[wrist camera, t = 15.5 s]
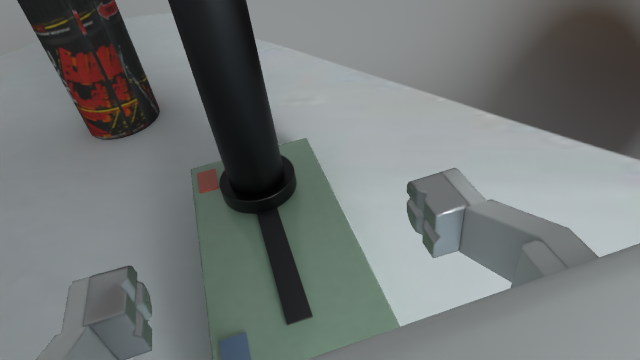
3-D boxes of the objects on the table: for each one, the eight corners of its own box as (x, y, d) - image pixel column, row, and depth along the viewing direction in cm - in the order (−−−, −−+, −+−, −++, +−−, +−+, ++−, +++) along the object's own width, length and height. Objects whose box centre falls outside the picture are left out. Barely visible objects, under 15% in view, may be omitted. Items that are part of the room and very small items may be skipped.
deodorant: (75, 130, 38) (-38, -66, 28) (129, 96, 41) (45, -88, 32) (120, 145, 35) (13, -65, 25) (173, 107, 39) (97, -89, 29)
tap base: (227, 423, 18) (217, 407, 17) (197, 185, 30) (189, 167, 29) (407, 358, 19) (407, 340, 18) (309, 154, 31) (306, 136, 30)
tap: (228, 223, 24) (128, -51, 15) (211, 136, 31) (134, -90, 22) (305, 200, 25) (251, -75, 16) (272, 120, 32) (221, -106, 23)
